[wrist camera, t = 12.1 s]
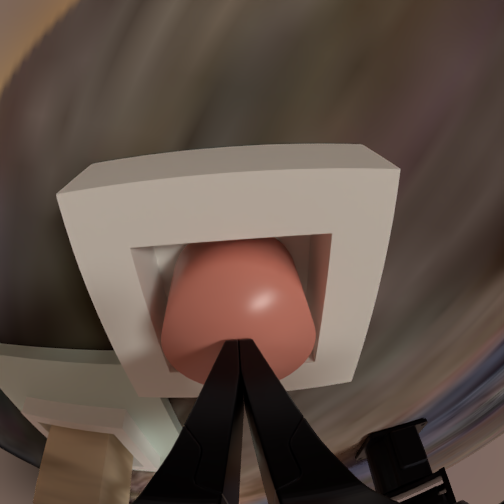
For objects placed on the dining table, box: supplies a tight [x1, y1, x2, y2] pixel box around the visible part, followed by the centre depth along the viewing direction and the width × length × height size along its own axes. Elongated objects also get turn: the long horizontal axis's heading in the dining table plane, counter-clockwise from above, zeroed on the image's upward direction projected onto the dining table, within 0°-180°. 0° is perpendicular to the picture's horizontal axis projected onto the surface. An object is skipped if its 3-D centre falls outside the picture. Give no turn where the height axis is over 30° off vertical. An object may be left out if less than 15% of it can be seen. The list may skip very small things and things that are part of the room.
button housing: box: [56, 144, 400, 398], centre depth 12 cm, size 10×10×3 cm
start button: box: [161, 237, 316, 385], centre depth 11 cm, size 5×5×3 cm
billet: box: [33, 425, 134, 504], centre depth 16 cm, size 5×5×8 cm
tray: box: [0, 343, 182, 472], centre depth 19 cm, size 18×14×2 cm
